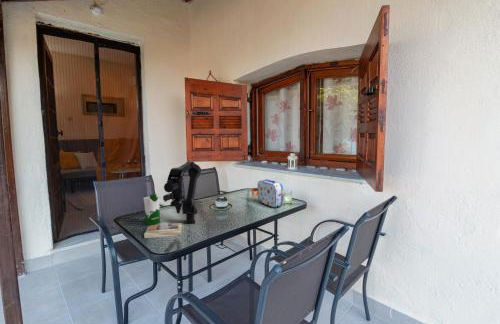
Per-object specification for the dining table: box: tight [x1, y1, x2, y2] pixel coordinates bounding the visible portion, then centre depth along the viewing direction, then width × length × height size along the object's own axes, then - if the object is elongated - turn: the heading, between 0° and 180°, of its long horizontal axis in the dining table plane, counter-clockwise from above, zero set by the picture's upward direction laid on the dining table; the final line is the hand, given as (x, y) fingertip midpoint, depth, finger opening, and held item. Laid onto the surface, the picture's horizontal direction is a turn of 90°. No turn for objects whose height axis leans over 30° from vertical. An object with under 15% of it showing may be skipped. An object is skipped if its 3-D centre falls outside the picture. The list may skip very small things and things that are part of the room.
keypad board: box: [143, 222, 183, 239], centre depth 152 cm, size 14×20×3 cm
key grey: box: [159, 221, 169, 230], centre depth 152 cm, size 4×4×3 cm
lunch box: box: [257, 179, 284, 208], centre depth 210 cm, size 28×10×22 cm, turn 33°
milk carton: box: [143, 193, 161, 226], centre depth 167 cm, size 9×9×20 cm
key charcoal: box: [170, 223, 179, 229], centre depth 153 cm, size 4×4×3 cm
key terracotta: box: [150, 224, 159, 231], centre depth 151 cm, size 4×4×3 cm
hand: (178, 213), depth 153 cm, fingers closed
